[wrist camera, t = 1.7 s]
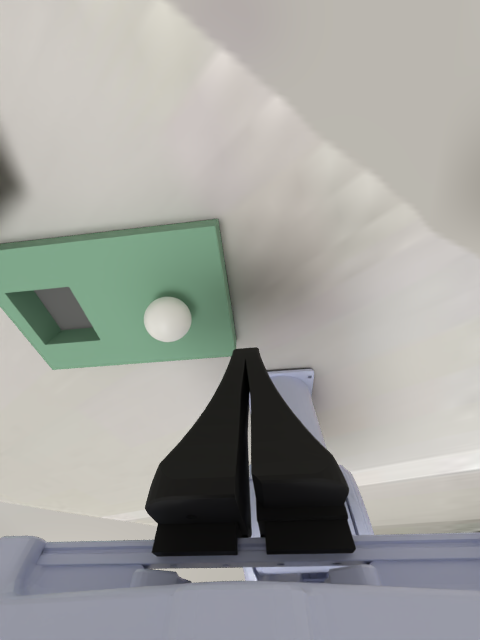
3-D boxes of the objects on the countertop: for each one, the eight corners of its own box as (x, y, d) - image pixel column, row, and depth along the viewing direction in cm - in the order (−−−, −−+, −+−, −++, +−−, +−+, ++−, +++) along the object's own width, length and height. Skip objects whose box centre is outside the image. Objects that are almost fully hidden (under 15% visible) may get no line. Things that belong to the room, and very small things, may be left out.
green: (236, 339, 24) (235, 356, 22) (68, 353, 25) (52, 369, 23) (218, 218, 17) (215, 225, 15) (-11, 245, 18) (-43, 255, 16)
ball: (198, 322, 20) (191, 349, 17) (160, 326, 20) (146, 353, 17) (189, 286, 18) (179, 310, 15) (146, 290, 18) (128, 314, 15)
